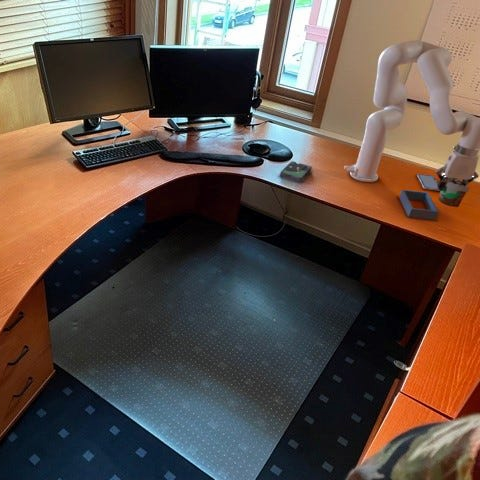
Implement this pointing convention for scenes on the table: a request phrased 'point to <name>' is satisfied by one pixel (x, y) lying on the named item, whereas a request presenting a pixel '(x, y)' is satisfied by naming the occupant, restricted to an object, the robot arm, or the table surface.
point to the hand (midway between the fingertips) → (449, 190)
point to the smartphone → (428, 182)
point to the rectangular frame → (415, 212)
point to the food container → (452, 192)
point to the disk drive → (295, 171)
